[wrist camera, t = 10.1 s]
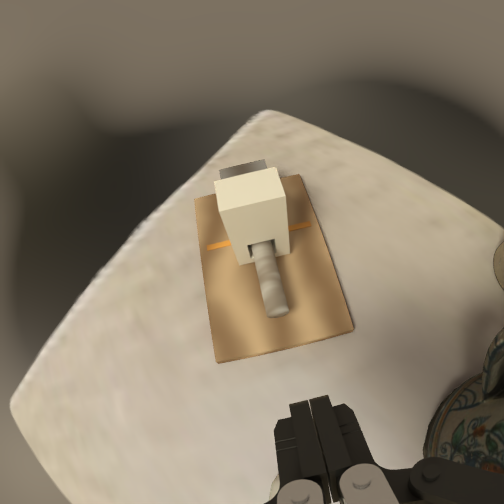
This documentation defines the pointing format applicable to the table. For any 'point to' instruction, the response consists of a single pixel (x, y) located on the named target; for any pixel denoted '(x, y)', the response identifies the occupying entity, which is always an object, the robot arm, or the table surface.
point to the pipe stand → (269, 281)
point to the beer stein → (473, 418)
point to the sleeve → (254, 212)
